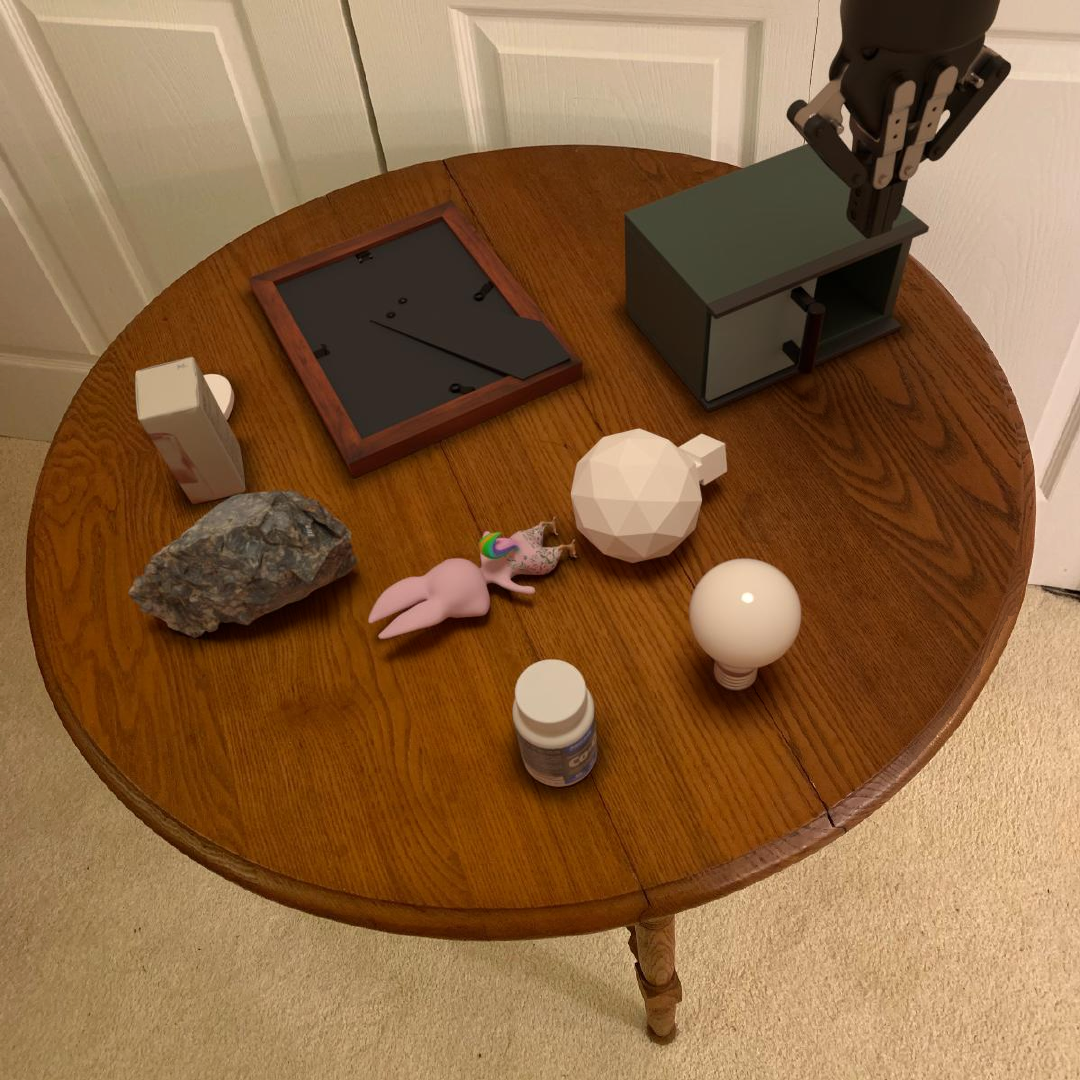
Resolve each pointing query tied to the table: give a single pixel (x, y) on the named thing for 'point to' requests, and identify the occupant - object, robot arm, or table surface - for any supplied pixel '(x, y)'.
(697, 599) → the lightbulb
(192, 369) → the cream cardboard box
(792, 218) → the cabinet
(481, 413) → the picture frame
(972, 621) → the table surface
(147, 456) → the table surface
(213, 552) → the rock
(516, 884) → the table surface
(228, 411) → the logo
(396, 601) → the rabbit figure
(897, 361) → the table surface
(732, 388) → the door
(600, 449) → the perfume bottle
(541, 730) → the pill bottle
